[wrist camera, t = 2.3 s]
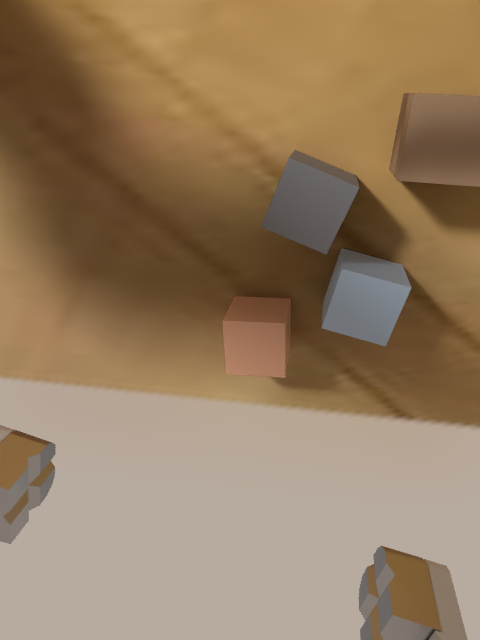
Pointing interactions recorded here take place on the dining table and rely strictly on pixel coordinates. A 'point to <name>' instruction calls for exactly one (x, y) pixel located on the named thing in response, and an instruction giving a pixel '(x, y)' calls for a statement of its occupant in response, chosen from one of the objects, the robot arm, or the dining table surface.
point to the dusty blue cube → (364, 297)
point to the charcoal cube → (310, 202)
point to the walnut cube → (438, 140)
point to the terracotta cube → (257, 336)
